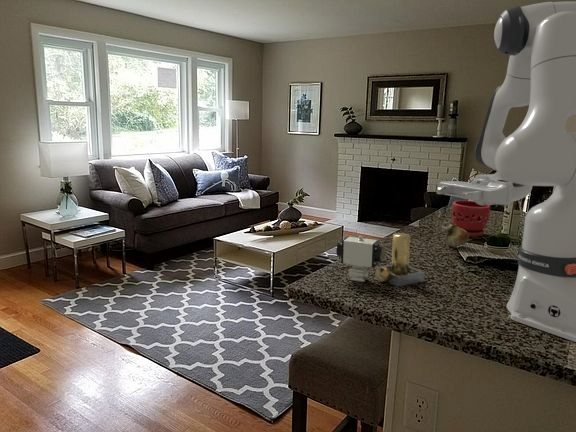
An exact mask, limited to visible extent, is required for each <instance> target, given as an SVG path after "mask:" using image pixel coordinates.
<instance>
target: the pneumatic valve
mask: <svg viewBox="0 0 576 432" xmlns="http://www.w3.org/2000/svg"><path fill="white" fill-rule="evenodd" d="M336 245H337V246H336V250H335V251H336V255H337V256H336V257H338V258H340V264H344V265H352V267H351V268H349V270H348V277H349V279H350V280H351V282H352V281H353V282H358V283H364V282H366V280H367V281H368V280H370V278H371V271H370V270H369V268H373V269H374V268H376V267H377V266H378V264H382V263H383V262H384V259H385V251H386V249H385V246H383V245H382V244H381V241H380V239H371V238H364V237H363V235H359V236H358V237H354V236H346V237H344V238H343V239H342V240H339V241H338V243H337V244H336Z"/></svg>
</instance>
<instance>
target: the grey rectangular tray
mask: <svg viewBox="0 0 576 432" xmlns="http://www.w3.org/2000/svg"><path fill="white" fill-rule="evenodd" d="M391 268H392V264H388V265H380V266H375V277H376V280H377V281H378V282H380V283H383V282H387V283H389V284H391V285H393V286H394V287H402V286H403V287H404V286H407V285H412V284H418V283H425V275H426V273H425V271H423V270H421V269H417V268H416V267H413V266H410V265H409V269H408V272H409V273H410V274H404V275H399V276H398V275H396V274H394V273H391Z"/></svg>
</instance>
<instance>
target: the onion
mask: <svg viewBox="0 0 576 432" xmlns="http://www.w3.org/2000/svg"><path fill="white" fill-rule="evenodd" d="M441 229H442V230H443V231H444V232H446V233H445V236H444V240H445V244H446V245H448V246H449V247H451V248H454V249H456V247H457V246H460V245H464V246H465V245H467V243H468V241H469V239H470V237H469V234H468V232H467V231H465V230H464V229H462V228H459V227H457V226H456V224H454V223H453V222H452V223H449V225H448V226H444V225H442V226H441Z"/></svg>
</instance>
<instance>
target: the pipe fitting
mask: <svg viewBox="0 0 576 432" xmlns="http://www.w3.org/2000/svg"><path fill="white" fill-rule="evenodd" d="M410 245H411V235H410V234H409V233H404V232H398V233H397V232H395V233H392V246H391V247H392V249H391V265H392V268H391V273H394V274H396V275H398V276H399V275H404V274H410V273H409V272H408V269H409V266H410Z"/></svg>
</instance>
